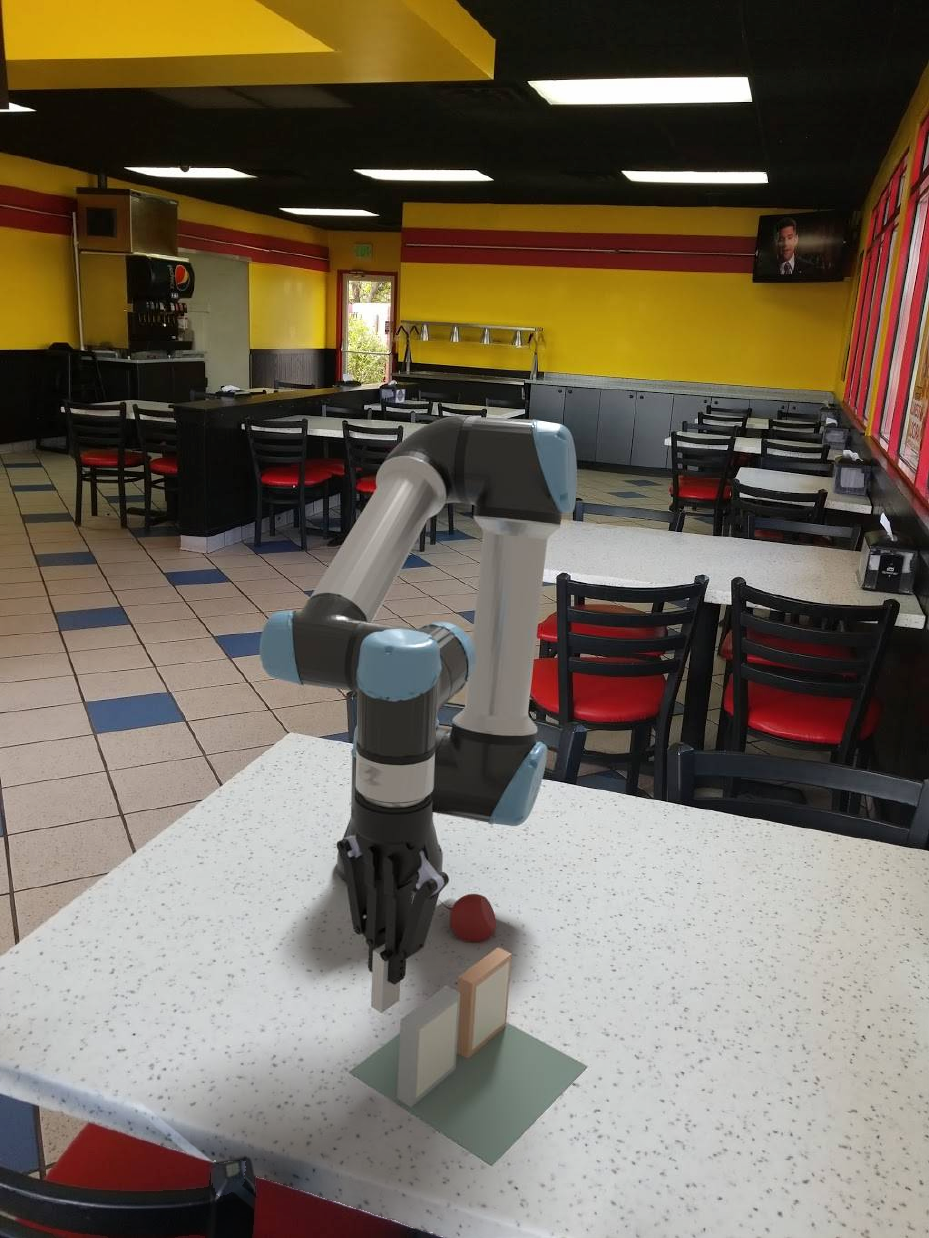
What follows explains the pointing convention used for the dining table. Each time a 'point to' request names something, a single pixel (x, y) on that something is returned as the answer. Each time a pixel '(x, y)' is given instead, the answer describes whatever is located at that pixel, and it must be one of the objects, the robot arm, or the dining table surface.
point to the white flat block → (428, 1045)
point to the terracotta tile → (483, 1001)
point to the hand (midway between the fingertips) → (385, 1003)
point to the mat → (483, 1089)
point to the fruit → (472, 918)
